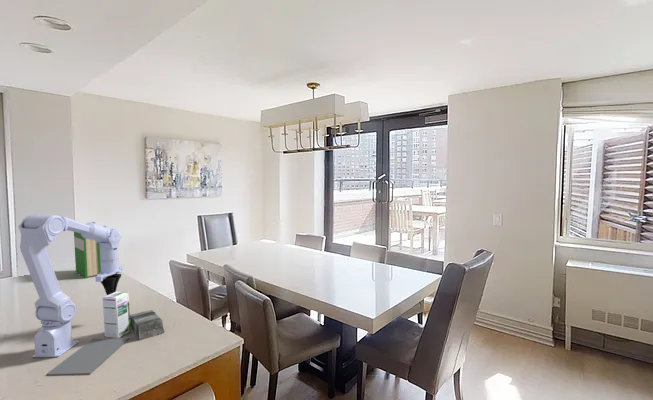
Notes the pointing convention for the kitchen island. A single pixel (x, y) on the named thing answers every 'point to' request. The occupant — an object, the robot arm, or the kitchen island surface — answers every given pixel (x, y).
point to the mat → (88, 357)
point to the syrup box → (116, 314)
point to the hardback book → (87, 256)
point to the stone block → (146, 324)
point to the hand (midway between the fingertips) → (111, 294)
